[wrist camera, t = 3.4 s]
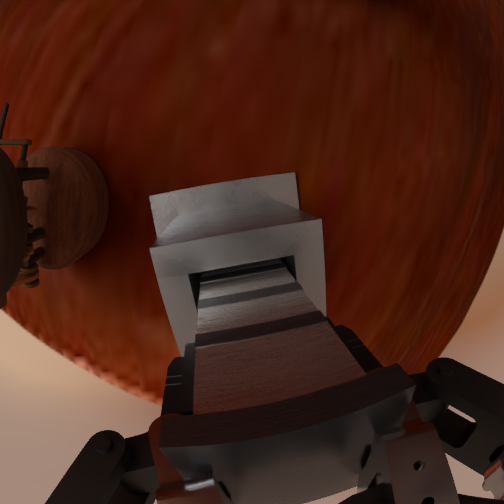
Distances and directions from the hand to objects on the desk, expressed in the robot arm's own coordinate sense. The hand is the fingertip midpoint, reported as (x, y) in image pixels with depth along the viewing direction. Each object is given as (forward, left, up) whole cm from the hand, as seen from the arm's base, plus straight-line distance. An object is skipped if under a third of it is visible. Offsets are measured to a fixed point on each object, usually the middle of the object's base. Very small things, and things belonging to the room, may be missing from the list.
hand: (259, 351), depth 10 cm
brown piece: (-8, -15, -14) cm, 22 cm away
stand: (0, 0, -14) cm, 14 cm away
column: (0, 0, -13) cm, 13 cm away
